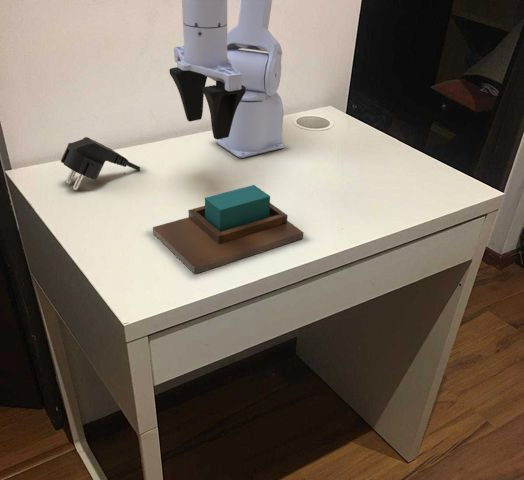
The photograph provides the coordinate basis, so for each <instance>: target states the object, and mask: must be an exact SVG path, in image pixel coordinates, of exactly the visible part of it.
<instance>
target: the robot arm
mask: <svg viewBox="0 0 524 480" xmlns="http://www.w3.org/2000/svg"><path fill="white" fill-rule="evenodd" d="M272 5H273V0H240V7H239V14H238V22H237V24H236V26H234V27H233V28H232V29H231V30H229V31H228V0H181V11H182V13H181V15H182V32H183V33H182V34H183V36H182V37H183V45H179V46H174V47H173V59H174V63H176V67H171V68H169V75H170V76H171V78H172V81H173V82H174V84H175V87H176V89H177V90H178V93H179V96H180V99H181V103H182V106H183V110H184V114H185V117H186V120H187V122H190V123H191V122H194V121H195V122H196V121H199V120H202V118H203V113H204V97H205V100H206V102H207V105H208V111H209V114H210V123H211V131H212V135H213V139H215V140H216V141H215V142H216V144H218V145H219V146H220V147H222V148H224V149H225V150H227V151H228V152H230V153H231V154H233V155H234V156H236V157H237V158H239V159H242V158H247V157H251V156H255V155H256V156H257V155H259V154H264V153H268V152H272V151H276V150H280V149H284V148H285V144H283V143H282V142H283V141H282V140H283V125H284V104H283V100H282V98H281V96H280V94H279V93H278V92H277V91H278V89H279V86H280V82H281V77H282V56H283V49H282V46H281V43H279V41H278V40H277V39H276V38H275V36H274V35H273V34H272V33H271V32H270V30H269V25H270V17H271V10H272ZM208 78H209V79H211V80H212V81H214V82H215V84H213V85H207V80H208ZM206 85H207V86H206Z"/></svg>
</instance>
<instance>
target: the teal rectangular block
mask: <svg viewBox="0 0 524 480" xmlns="http://www.w3.org/2000/svg"><path fill="white" fill-rule="evenodd" d="M270 203H271V196H270V195H269V194H268V193H267V192H266V191H264V190H262V189H261V188H259V187H258V186H257V185H256V184H252V185H248V186H244V187H239V188H236V189H233V190H229V191H226V192H222V193H217V194H213V195H210V196H207V197H204V206H205V219H206V220H207V221H208V222H209V223H211V224H212V225H213V226H214V227H215V228H217V229H218V230H219V231H220V232H222V231H226V230H229V229H233V228H236V227H239V226H243V225H246V224H249V223H253V222H256V221H259V220H263V219H266V218H269V209H270Z"/></svg>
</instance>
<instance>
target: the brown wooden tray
mask: <svg viewBox="0 0 524 480" xmlns="http://www.w3.org/2000/svg"><path fill="white" fill-rule="evenodd" d="M152 234H153V235H154V236H155V237H156V238H157V239H158V240H159V241H160V242H161V243H162V244H163V245H164V247H166V248H167V249H168V250H169V251H170V252H171V253H172V254H173V255H175V257H176V258H177V259H178V260H179V261H180V262H181V263H183V265H185V267H186V268H187V269H188V270H190V271H191V272H192V273H193V274H194V275H197V274H199V273H203V272H205V271H209V270H212V269H214V268H218V267H221V266H225V265H226V264H231V263H233V262H236V261H239V260H242V259H245V258H248V257H252V256H255V255H257V254H261V253H263V252H267V251H269V250H272V249H275V248H279V247H282V246H285V245H287V244H292V243H293V242H297V241H299V240H303V239H304V232H303V231H302V230H301V229H300V228H298V227H297V226H296V225H294V224H292V223H291V222H290V221H288V214H286V213H285V212H284V211H282V210H281V209H280V208H278V207H277V206H275V205H274V204H272V203H271V202H270V209H269V218H266V219H263V220H259V221H256V222H253V223H249V224H246V225H243V226H239V227H236V228H233V229H229V230H226V231H222V232H220V231H219V230H218V229H217V228H215V227H214V226H213V225H212V224H211V223H209V222H208V221H207V220H206V219H205V205H202V206H198V207H195V208H190V209H188V217H184V218H181V219H177V220H173V221H170V222H167V223H163V224H159V225H156V226H153V227H152Z"/></svg>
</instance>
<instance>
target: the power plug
mask: <svg viewBox="0 0 524 480" xmlns="http://www.w3.org/2000/svg"><path fill="white" fill-rule="evenodd" d="M106 162H109V163H111V164H114V165H117V166H120V167H124V168H126V167H129V168H131V169H134V171H135V170H136V171H137V172H139V171H140V170H141V167H140V166H139V165H137V164H134V163H132V162H130V161H129V159H127V158H126V157H125V156H123V155H122V154H119V153H118V152H117V151H115V150H113V149H112V148H110V147H108V146H107V145H104V144H102V143H100V142H98V141H96V140H94V139H92V138H90V137H88V136H85V137H83V138H82V139H78V140H76V141H73V142H69V143H67V146H66V148H65V150H64V152H63V154H62V157H61V159H60V163H62V164H63V165H64V166H65V167H67V168H68V169H69V170H70V172H69V174H68V176H67V178H66V181H65V182H66V183H67V185H71V184H72V182H73V181H74V178H75V176H76V174H78V175H77V177H76V180H75V181H74V184H73V186H72V189H73V190H74V191H78V190H79V188H80V186H81V184H82V181H83V180H84V178H87V179H91V180H94V181H97V180H98V177H99V175H100V173H101V171H102V169H103V167H104V165H105V163H106Z"/></svg>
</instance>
